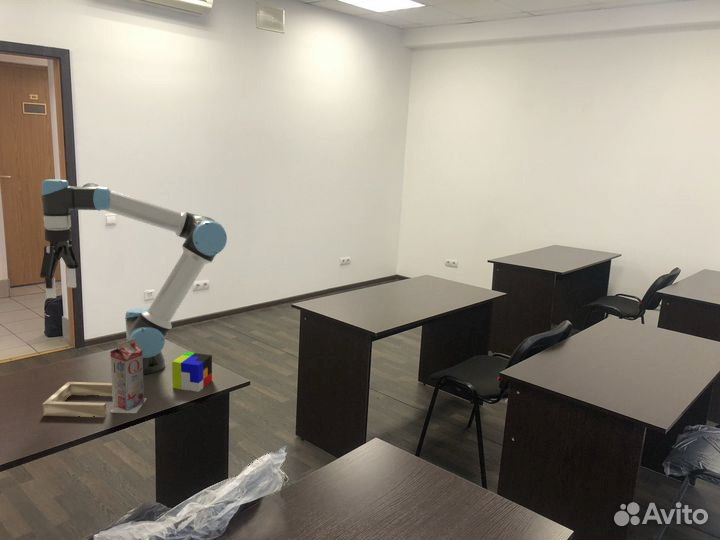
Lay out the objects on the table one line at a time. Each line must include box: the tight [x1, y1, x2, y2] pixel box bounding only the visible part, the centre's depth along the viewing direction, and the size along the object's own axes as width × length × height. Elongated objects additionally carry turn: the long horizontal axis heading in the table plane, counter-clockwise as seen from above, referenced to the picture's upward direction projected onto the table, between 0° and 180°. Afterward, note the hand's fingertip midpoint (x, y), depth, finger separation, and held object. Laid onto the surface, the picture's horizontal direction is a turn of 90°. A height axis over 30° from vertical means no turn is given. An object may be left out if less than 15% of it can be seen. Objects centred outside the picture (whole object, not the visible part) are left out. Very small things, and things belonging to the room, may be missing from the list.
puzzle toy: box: [171, 351, 213, 393], centre depth 194 cm, size 10×10×10 cm
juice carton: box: [110, 338, 145, 411], centre depth 174 cm, size 7×7×22 cm
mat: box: [109, 397, 147, 414], centre depth 176 cm, size 10×8×1 cm
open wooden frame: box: [42, 381, 113, 418], centre depth 175 cm, size 16×18×4 cm
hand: (61, 292), depth 177 cm, fingers open, 13 cm apart
